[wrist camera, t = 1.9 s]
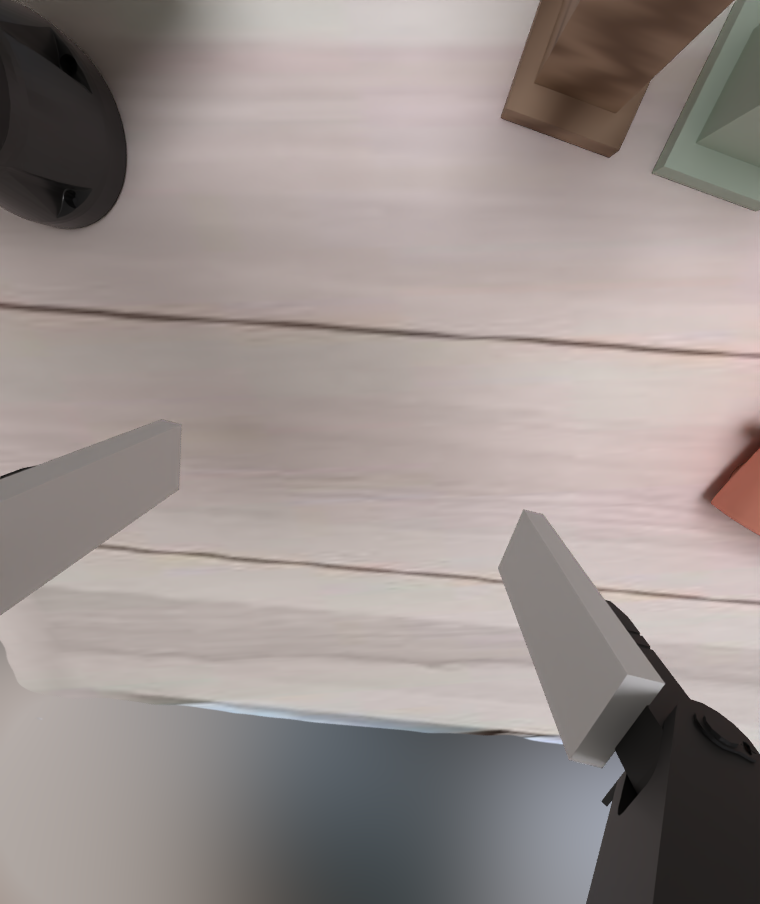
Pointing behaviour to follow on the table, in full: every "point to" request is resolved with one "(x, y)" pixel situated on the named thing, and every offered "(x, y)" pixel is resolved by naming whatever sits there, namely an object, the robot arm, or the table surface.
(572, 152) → the table surface
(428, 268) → the table surface
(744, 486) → the teapot
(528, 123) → the tall pedestal
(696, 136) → the short pedestal
